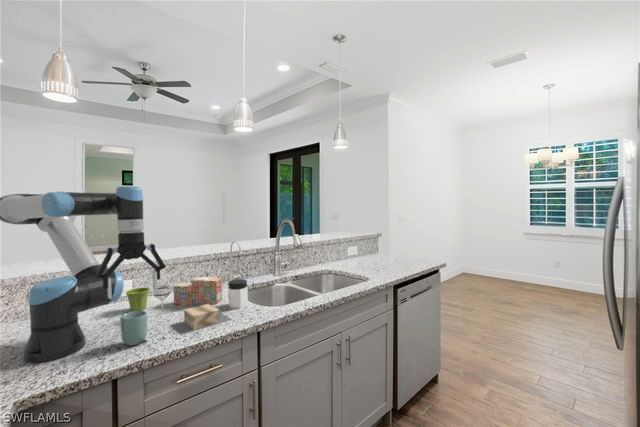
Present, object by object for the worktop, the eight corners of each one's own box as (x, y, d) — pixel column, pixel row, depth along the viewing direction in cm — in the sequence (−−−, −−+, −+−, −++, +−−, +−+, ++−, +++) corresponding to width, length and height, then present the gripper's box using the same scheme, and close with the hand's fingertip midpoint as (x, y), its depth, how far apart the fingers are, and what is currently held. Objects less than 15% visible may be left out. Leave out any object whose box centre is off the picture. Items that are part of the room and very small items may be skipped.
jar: (249, 308, 136) (249, 282, 136) (231, 311, 132) (231, 285, 132) (244, 302, 144) (244, 278, 144) (227, 305, 140) (226, 280, 140)
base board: (180, 337, 108) (180, 334, 107) (170, 327, 116) (170, 325, 116) (232, 321, 121) (232, 319, 121) (219, 313, 130) (219, 311, 130)
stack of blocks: (173, 305, 142) (172, 279, 141) (181, 301, 148) (180, 276, 147) (217, 306, 140) (216, 280, 139) (222, 302, 146) (222, 277, 145)
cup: (142, 335, 109) (141, 308, 109) (151, 342, 104) (150, 313, 104) (117, 343, 103) (116, 315, 103) (126, 350, 98) (125, 320, 98)
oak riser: (193, 329, 112) (193, 316, 111) (184, 322, 119) (184, 309, 119) (219, 322, 118) (219, 309, 118) (209, 315, 126) (208, 303, 126)
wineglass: (171, 310, 134) (171, 284, 134) (170, 315, 128) (169, 288, 128) (154, 312, 132) (153, 286, 131) (152, 318, 126) (151, 290, 125)
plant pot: (121, 311, 134) (120, 292, 133) (139, 304, 143) (138, 286, 142) (137, 313, 131) (136, 294, 131) (154, 306, 140) (154, 288, 140)
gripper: (86, 235, 91) (89, 304, 92) (173, 229, 108) (175, 287, 109) (83, 234, 96) (86, 299, 97) (167, 228, 113) (168, 283, 114)
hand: (133, 293), depth 103 cm, fingers open, 13 cm apart
